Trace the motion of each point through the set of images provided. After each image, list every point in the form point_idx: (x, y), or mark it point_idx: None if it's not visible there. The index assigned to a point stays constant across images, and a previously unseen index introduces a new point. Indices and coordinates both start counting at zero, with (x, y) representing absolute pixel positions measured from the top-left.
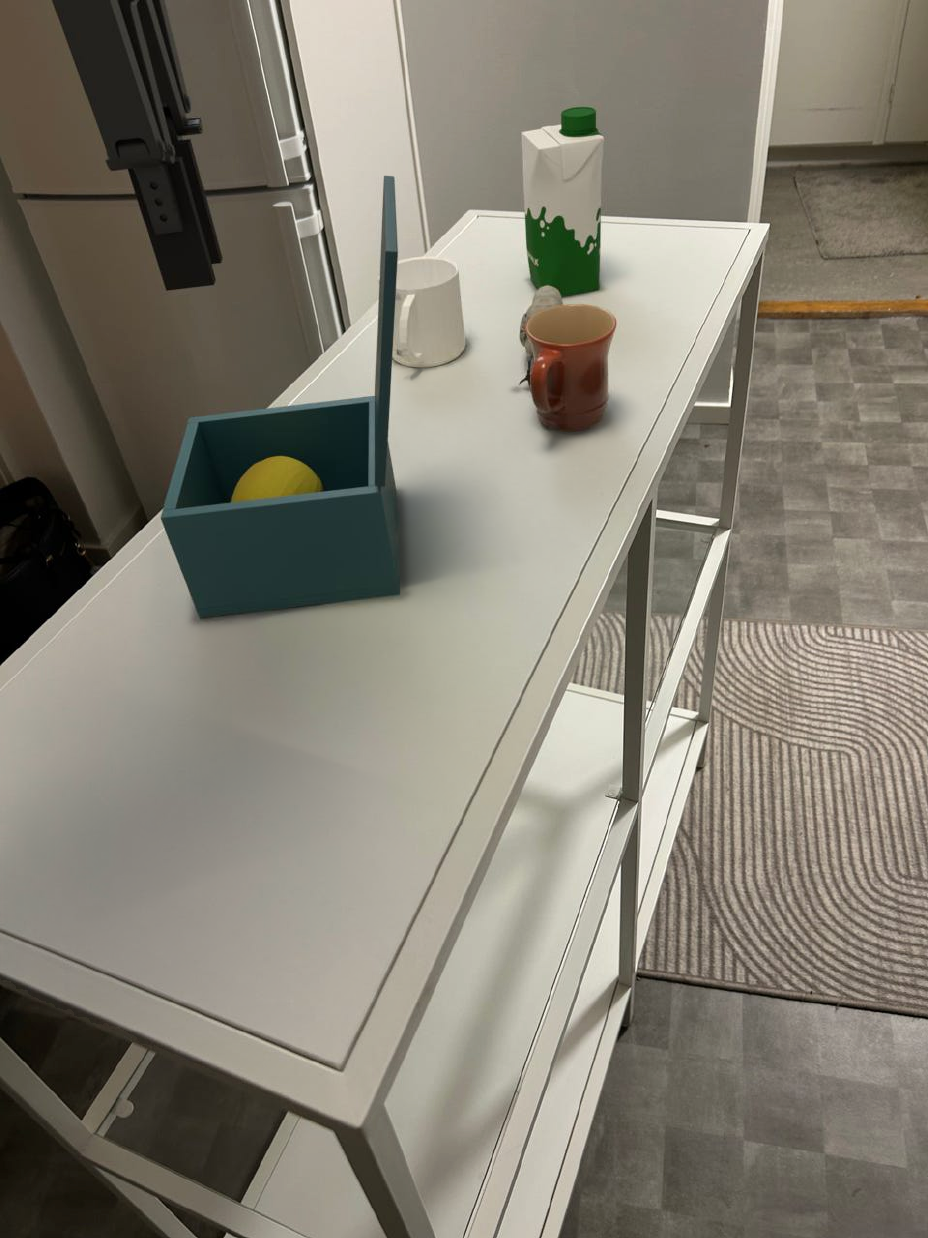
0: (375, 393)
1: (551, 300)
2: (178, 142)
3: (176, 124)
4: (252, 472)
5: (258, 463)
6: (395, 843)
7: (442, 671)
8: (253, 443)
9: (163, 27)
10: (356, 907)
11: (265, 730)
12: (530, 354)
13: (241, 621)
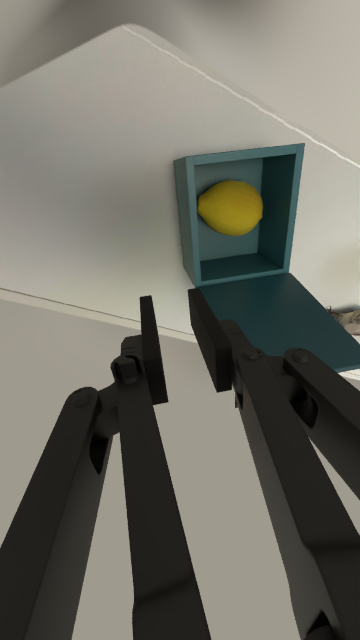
0: (273, 281)
1: None
2: (223, 382)
3: (236, 394)
4: (241, 201)
5: (251, 203)
6: (49, 283)
7: (136, 289)
8: (281, 189)
9: (345, 478)
10: (18, 273)
11: (97, 218)
12: (342, 316)
13: (170, 188)
